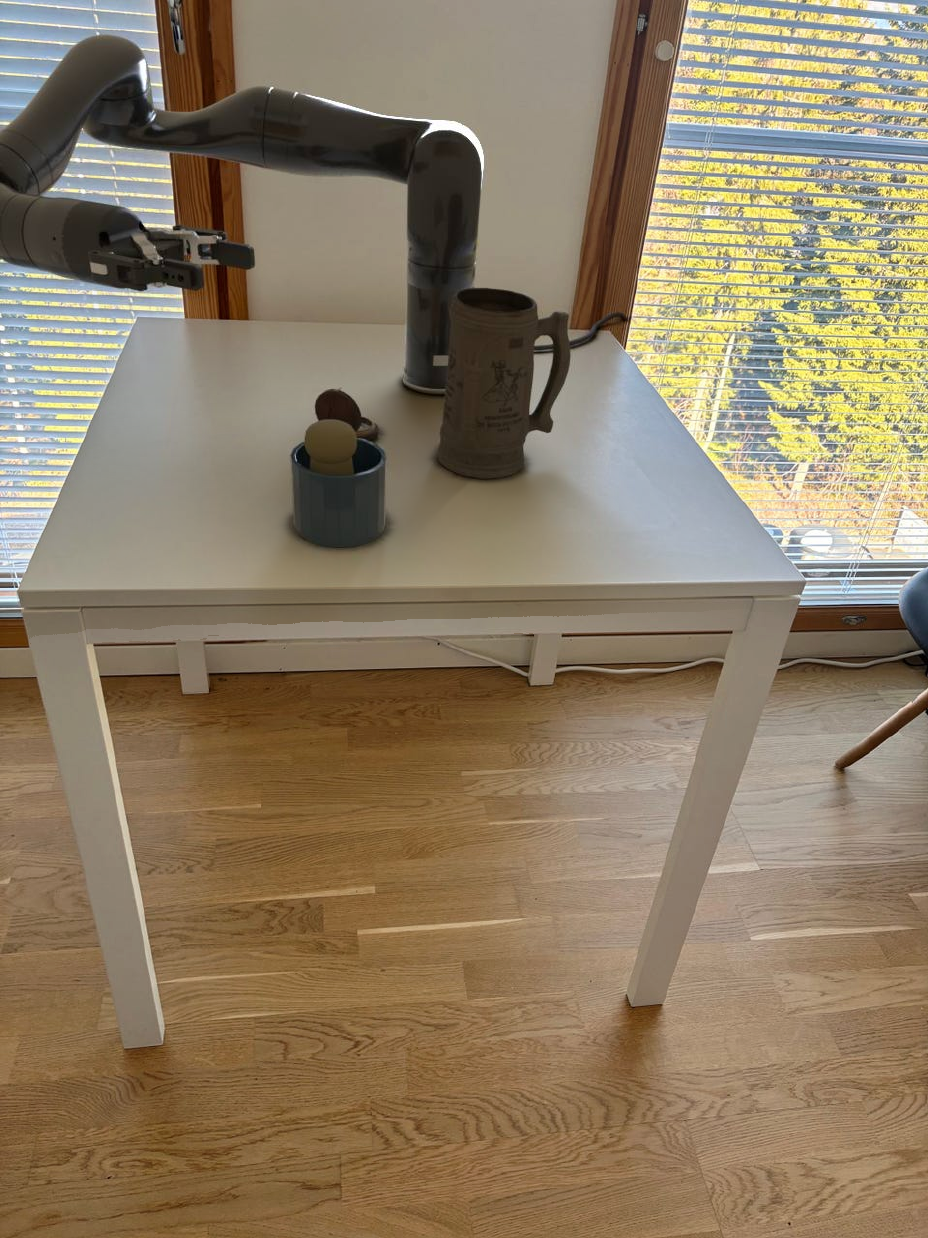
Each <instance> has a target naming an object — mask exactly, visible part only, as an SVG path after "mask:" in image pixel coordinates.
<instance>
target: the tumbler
mask: <svg viewBox="0 0 928 1238" xmlns="http://www.w3.org/2000/svg"><path fill="white" fill-rule="evenodd" d="M289 457H290V477H291V478H290V479H291V496H292V497H291V500H292V518H293V527H294V530H295V532H296V533H297V534H298V536H300V537H301V538H302V539H304V540H305V541H307V542H310V543H312V544H315V545H317V546H323V547H329V548H351V547H357V546H362V545H365V544H368V543H370V542H373V541H374V540H376V539H377V538H379V537H380V536H381V535H382V533H383V532H384V530H385V527H386V518H387V517H386V515H387V514H386V512H387V468H388V467H387V466H388V465H387V464H388V463H387V459H388V456H387V454H386V452H385V450H384V448H382V447H381V446H379V445H378V444H377V443H375V442H372V441H371V440H369V441H368V440H365V439H361V438H357V447H356V451H355V453H354V454H353V455H352V463H353V470H354V474H351V475H330V474H322V473H318V472H314V471H311V470H309V469H310V459H311V456H310V455H309V454H308V452H307V451H306V448H305V441H303V442H302V441H301V442H300V443H299V444H297V445H296V446H295V447H293V448H292V451H291V453H290V455H289Z"/></svg>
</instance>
